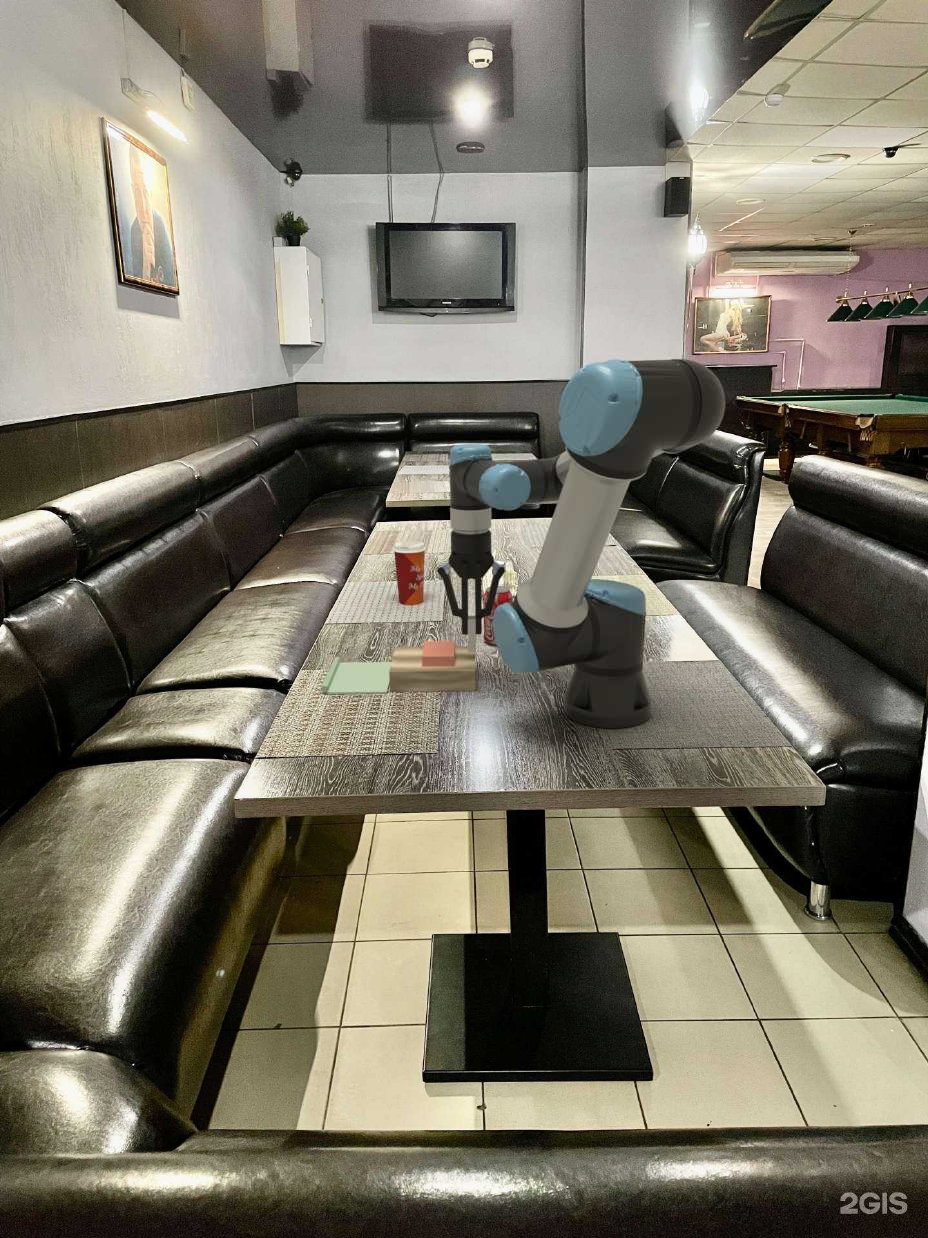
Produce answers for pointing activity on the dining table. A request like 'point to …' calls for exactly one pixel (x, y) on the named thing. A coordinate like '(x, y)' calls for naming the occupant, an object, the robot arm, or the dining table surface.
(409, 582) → the coffee cup
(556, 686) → the dining table surface
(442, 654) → the block
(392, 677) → the deck
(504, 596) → the beverage can
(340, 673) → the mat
